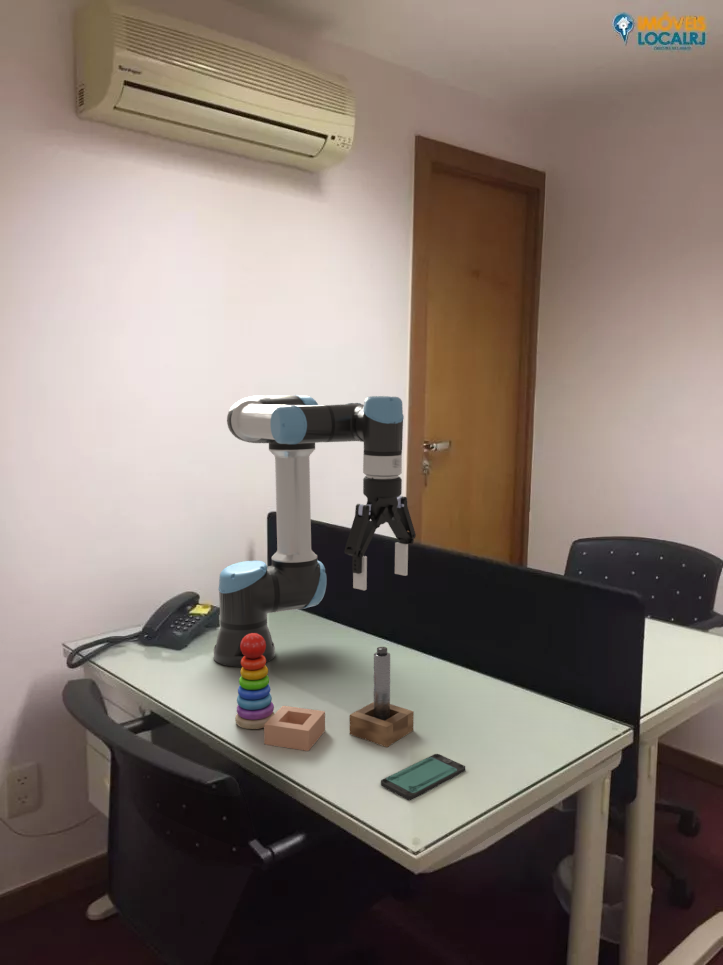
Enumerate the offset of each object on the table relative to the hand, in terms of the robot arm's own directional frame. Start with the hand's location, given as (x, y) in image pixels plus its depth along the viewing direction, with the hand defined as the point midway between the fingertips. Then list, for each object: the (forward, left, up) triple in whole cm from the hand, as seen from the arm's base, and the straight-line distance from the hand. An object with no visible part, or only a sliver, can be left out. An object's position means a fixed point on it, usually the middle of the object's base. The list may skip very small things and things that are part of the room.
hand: (381, 581), depth 157 cm
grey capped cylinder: (+4, -5, -29) cm, 30 cm away
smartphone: (+20, -14, -30) cm, 38 cm away
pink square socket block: (-8, -16, -29) cm, 34 cm away
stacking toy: (-19, -16, -29) cm, 39 cm away
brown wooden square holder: (+4, -4, -29) cm, 30 cm away
